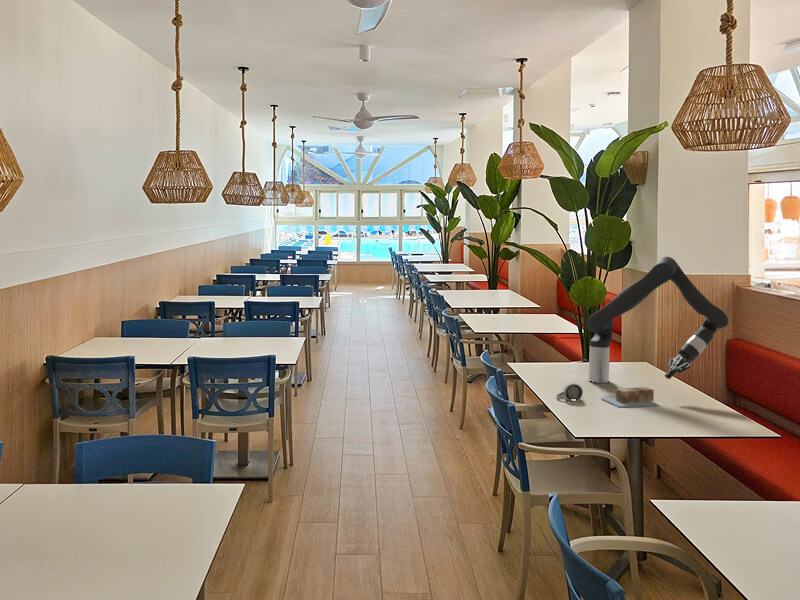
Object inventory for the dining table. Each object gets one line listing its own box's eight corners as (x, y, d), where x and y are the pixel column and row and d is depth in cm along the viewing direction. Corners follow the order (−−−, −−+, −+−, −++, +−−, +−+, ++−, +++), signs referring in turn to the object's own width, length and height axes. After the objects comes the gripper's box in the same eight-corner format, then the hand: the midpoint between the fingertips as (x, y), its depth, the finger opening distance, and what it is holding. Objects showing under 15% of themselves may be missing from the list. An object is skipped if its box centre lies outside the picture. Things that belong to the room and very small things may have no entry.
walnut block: (647, 386, 311) (616, 388, 307) (654, 389, 306) (623, 391, 302) (646, 398, 312) (615, 400, 308) (653, 401, 307) (622, 403, 303)
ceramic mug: (579, 397, 315) (580, 380, 314) (582, 402, 307) (583, 384, 306) (555, 397, 316) (555, 379, 315) (557, 401, 308) (557, 384, 307)
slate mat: (637, 397, 316) (637, 395, 316) (657, 405, 302) (657, 403, 302) (601, 399, 311) (601, 398, 311) (619, 407, 298) (619, 406, 298)
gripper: (678, 340, 317) (652, 368, 316) (697, 345, 305) (671, 374, 303) (688, 351, 319) (662, 380, 318) (707, 356, 307) (681, 386, 305)
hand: (666, 377), depth 310 cm, fingers closed
